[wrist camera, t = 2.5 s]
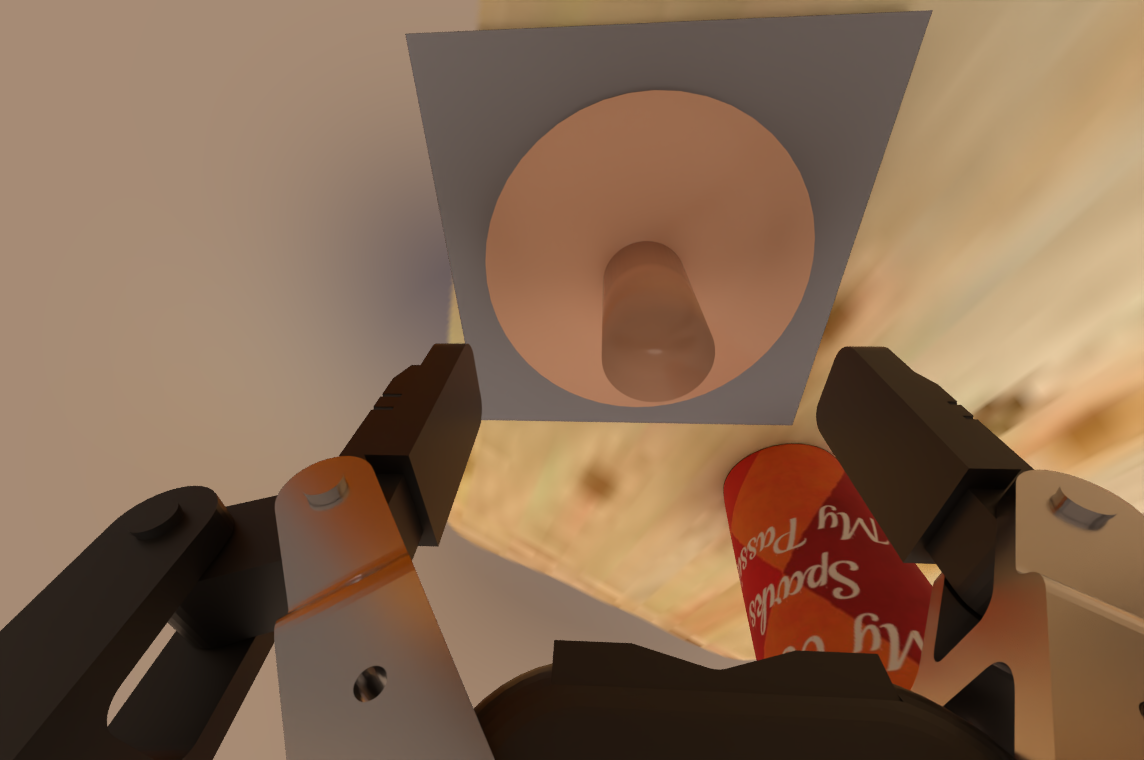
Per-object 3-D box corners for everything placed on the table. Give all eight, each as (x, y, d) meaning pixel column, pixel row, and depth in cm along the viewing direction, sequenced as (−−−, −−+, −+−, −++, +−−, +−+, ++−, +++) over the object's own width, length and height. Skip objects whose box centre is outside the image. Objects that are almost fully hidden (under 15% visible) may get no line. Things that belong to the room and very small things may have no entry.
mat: (909, 15, 12) (932, 10, 11) (784, 411, 20) (792, 425, 19) (418, 36, 13) (405, 33, 12) (485, 406, 21) (479, 419, 20)
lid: (852, 81, 12) (1011, 82, 7) (765, 397, 18) (821, 508, 14) (466, 97, 13) (384, 106, 8) (509, 394, 19) (476, 498, 14)
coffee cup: (802, 396, 19) (1147, 944, 7) (901, 481, 22) (1280, 993, 10) (666, 489, 23) (735, 944, 11) (763, 553, 26) (907, 979, 14)
